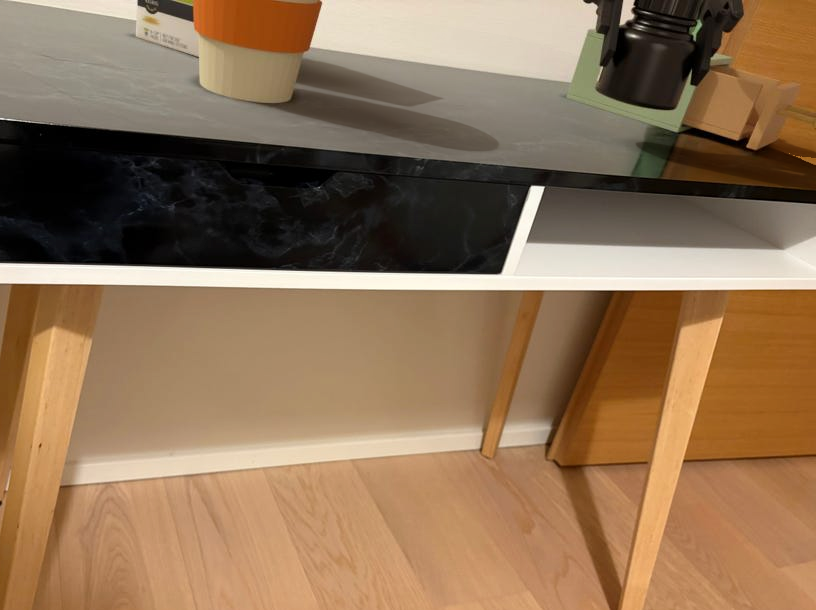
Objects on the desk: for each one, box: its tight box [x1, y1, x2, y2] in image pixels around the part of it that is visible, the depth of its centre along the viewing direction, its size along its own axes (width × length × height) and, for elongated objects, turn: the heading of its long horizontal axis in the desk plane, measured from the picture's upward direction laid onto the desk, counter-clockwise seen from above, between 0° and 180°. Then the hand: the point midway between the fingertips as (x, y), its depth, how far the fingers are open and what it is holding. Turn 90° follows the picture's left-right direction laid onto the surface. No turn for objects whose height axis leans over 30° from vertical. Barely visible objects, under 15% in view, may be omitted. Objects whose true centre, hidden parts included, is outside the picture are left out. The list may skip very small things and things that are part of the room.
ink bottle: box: [595, 0, 706, 110], centre depth 85 cm, size 10×9×12 cm
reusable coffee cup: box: [193, 0, 323, 104], centre depth 75 cm, size 13×12×15 cm
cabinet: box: [566, 28, 734, 134], centre depth 108 cm, size 16×14×9 cm
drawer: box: [683, 65, 816, 151], centre depth 102 cm, size 20×12×7 cm, turn 52°
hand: (653, 68), depth 83 cm, fingers closed on ink bottle, 9 cm apart
